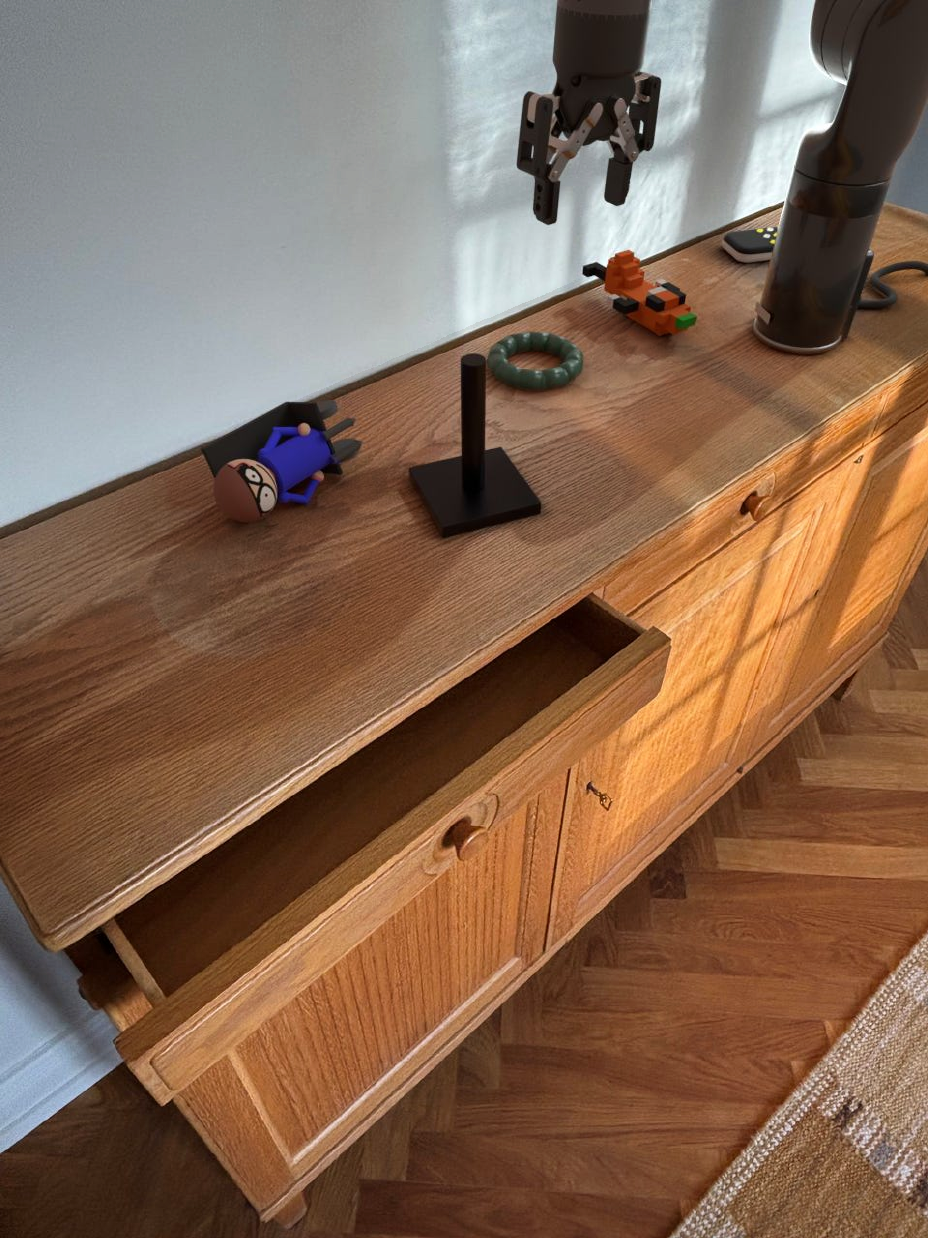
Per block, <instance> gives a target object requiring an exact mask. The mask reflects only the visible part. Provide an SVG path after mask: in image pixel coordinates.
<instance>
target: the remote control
mask: <svg viewBox="0 0 928 1238" xmlns="http://www.w3.org/2000/svg"><path fill="white" fill-rule="evenodd" d="M778 227H779V225H778V226H773V227H772V226H771V227H763V228H754V229H745V230H735V231H730V232H727V233H726V234H724V236H723V239H722V243H721V244H722V248H723V250H725V251H726V252H727V253H728V254H729V255H730V256H731V257H733V259H735V260H736V261H737V262H740V263H746V264H747V263H748V264H749V263H755V262H756V263H757V262H765V261H770V259H771V255H772V251H773V247H774V243H775V239H776V235H777V231H778Z"/></svg>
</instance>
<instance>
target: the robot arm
mask: <svg viewBox="0 0 928 1238" xmlns="http://www.w3.org/2000/svg"><path fill="white" fill-rule="evenodd" d="M652 7H653V0H556V9H555V23H554V33H553V35H554V36H553V47H552V64H553V66H554V69H555V73H556V81H555V85H554V88H553V90H552V92H551V93H545V94H539V93H537V92H533V91H531V90H528V91H527V92H525V94H524V96H523V98H522V104H521V105H522V106H521V115H520V125H519V137H518V145H517V154H516V155H517V156H516V168H517V170H519V171H521V172H523V173H526V174H528V175H530V176H532V177H534V188H533V202H532V212H533V215H534V216H535V219H536V220H537V221H539V222H540V223H543V224H544V225H547V226H551V225H554V224H556V223H557V221H558V213H559V202H560V189H561V180H559V179H560V177H561V176H562V174H563V172H564V170H565V168H566V166H567V165H568V163H569V161H570V160H572V159H574V158H576V156H577V155H578V153H579V151H580V150H581V148H582V147H585V146H586V147H587V146H591V145H592V144H593V143H595V142H597V141H599V142H606V144H607V146H608V149H609V151H610V153H611V155H613V156H612V157H608V161H607V168H606V169H607V170H606V177H605V184H604V185H605V186H604V191H603V198H604V201H605V202H606V203H609V204H610V205H613V206H614V207H619V206H623V205H624V204H626V199H627V198H628V195H629V192H630V186H631V185H630V184H631V179H632V172H633V166H634V163H635V162H636V161H637V159H638V158H639V155H640V154H641V153H642V152H650V151H651V150H652V149H653V148H654V145H655V137H656V129H657V123H658V113H659V106H660V97H661V89H662V79H661V77H659V76H656V75H654V74H651V73H648V72H644V71H641V70H642V69H643V66H644V62H645V56H646V48H647V42H648V36H649V35H648V34H649V28H650V22H651V14H652ZM808 31H809V32H808V33H809V34H808V43H809V44H808V45H809V53H810V56H811V57H810V58H811V60H812V62H813V64H814V66H815V67H816V68H817V69H818V71H819V72H820V73H822V74H823V75H824V76H825V77H827V78H829V79H832V80H834V81H835V82H838V83H840V84H843V85H845V87H844V91H843V94H842V97H841V99H840V102H839V106H838V108H837V112H836V114H835V117H834V118H833V121H832V122H830V123H824V124H818V125H816V126H812V127H811V128H809V129H808V130H806V131H805V132H804V133H803V134H802V136H801V138H800V140H799V142H798V146H797V150H796V154H795V158H794V162H793V165H792V170H791V174H790V178H789V181H788V186H787V190H786V195H785V198H784V203H783V207H782V212H781V215H780V219H779V223H778V226H779V227H778V226H777V227H778V231H777V235H776V239H775V243H774V247H773V251H772V255H771V259H770V260H769V264H768V268H767V271H766V276H765V280H764V285H763V288H762V292H761V296H760V301H759V302H758V301H756V302H755V307H754V312H755V313H756V317H755V319H754V321H753V325H752V332H753V334H754V336H755V338H757V340H759V341H760V342H762V343H763V344H765V345H767V346H768V347H770V348H772V349H775V350H779V351H782V352H786V353H791V354H800V355H813V354H814V355H815V354H822V353H827V352H829V351H831V350H834V349H835V348H837V346H838V345H839V344H840V343H841V341H843V340H847V339H848V336H849V333H850V330H851V327H852V325H853V321H854V319H855V316H856V313H857V309H862V310H863V309H864V310H876V309H877V310H878V309H884V308H885V309H886V308H888V307H891V306H893V305H894V304H896V303H897V302H898V298H899V295H898V292H897V291H896V290H895V289H893V288H892V287H891V286H889V285H888V284H886V283H885V282H883V281H882V280H881V279H880V278H882V277H884V276H887V275H889V274H892V273H896V272H900V271H906V270H907V271H909V270H916V271H921V272H923V273H924V274H925V276H927V277H928V263H927V262H924V261H920V260H906V261H900V262H895V263H892V264H888V265H886V266H884V267H881V268H879V269H878V270H876V271H874V272H873V273H872V274H871V275H870V277H869V283H870V284H871V286H872V287H874V288H875V289H876V290H877V291H879V292H880V293H882V294H883V295H885V296H886V297H887V298H883V299H862V294H863V292H864V289H865V285H866V282H867V279H868V275H869V273H870V270H871V267H872V264H873V262H874V258H875V252H874V251H873V250H872V249H871V248H870V247H871V244H872V241H873V238H874V235H875V233H876V228H877V225H878V223H879V219H880V216H881V214H882V211H883V206H884V203H885V201H886V197H887V195H888V191H889V188H890V185H891V182H892V179H893V176H894V173H895V170H896V167H897V164H898V162H899V160H900V158H901V157H902V155H903V154H904V153H905V151H906V150H907V148H908V147H909V145H910V144H911V142H912V141H913V138H914V137H915V135H916V133H917V131H918V128H919V126H920V124H921V121H922V118H923V116H924V113H925V111H926V108H927V105H928V0H814V2H813V7H812V13H811V18H810V23H809V30H808ZM641 122H642V130H641ZM640 130H641V131H642V132H640ZM561 134H563V136H564V138H565V139H567V140H562V139H561V138H560V136H561ZM554 155H555V156H554ZM553 157H554V158H553ZM550 162H551V163H550Z"/></svg>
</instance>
